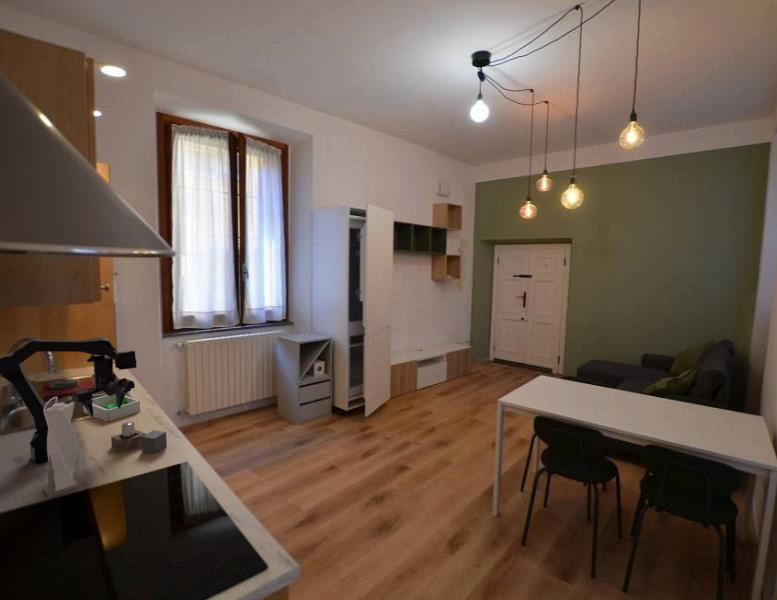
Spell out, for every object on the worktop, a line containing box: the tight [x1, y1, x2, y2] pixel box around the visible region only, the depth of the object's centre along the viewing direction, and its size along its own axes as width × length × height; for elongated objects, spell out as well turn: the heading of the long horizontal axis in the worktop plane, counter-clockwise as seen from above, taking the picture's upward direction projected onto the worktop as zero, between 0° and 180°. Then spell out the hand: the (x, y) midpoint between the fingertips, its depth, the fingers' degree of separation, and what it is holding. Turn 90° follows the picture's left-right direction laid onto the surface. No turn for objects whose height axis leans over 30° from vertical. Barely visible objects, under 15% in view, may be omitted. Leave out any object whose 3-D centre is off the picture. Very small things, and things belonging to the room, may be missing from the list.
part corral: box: [82, 394, 141, 422], centre depth 177 cm, size 14×20×5 cm
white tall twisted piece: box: [43, 396, 80, 499], centre depth 118 cm, size 8×8×28 cm
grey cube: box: [141, 430, 168, 455], centre depth 144 cm, size 6×6×6 cm
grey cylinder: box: [121, 421, 136, 440], centre depth 146 cm, size 4×4×8 cm
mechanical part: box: [105, 397, 125, 409], centre depth 177 cm, size 12×6×8 cm, turn 49°
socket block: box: [110, 429, 146, 453], centre depth 146 cm, size 8×8×4 cm
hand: (105, 412), depth 145 cm, fingers open, 9 cm apart
